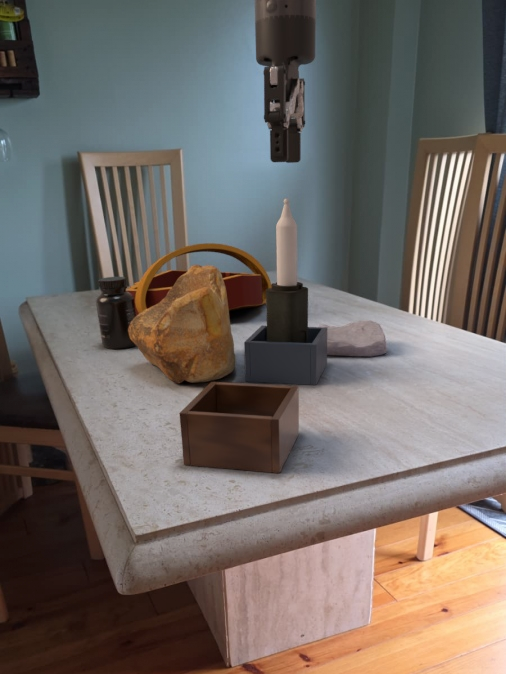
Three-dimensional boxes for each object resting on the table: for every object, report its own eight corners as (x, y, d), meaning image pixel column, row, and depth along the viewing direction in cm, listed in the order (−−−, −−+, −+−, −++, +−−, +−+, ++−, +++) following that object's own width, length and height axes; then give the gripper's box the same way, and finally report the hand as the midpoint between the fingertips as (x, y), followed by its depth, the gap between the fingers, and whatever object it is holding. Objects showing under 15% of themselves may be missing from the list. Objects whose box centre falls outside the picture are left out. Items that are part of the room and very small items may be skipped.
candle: (292, 379, 93) (291, 199, 82) (264, 374, 96) (260, 199, 85) (310, 371, 96) (312, 197, 86) (283, 366, 99) (281, 197, 89)
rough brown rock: (146, 354, 111) (129, 269, 105) (238, 343, 111) (227, 257, 104) (123, 402, 90) (100, 300, 84) (236, 389, 90) (222, 285, 83)
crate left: (298, 434, 74) (298, 386, 71) (279, 473, 64) (278, 419, 62) (213, 428, 76) (211, 381, 74) (183, 465, 67) (179, 413, 64)
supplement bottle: (129, 338, 119) (121, 274, 114) (145, 345, 114) (138, 278, 109) (95, 344, 116) (86, 278, 111) (111, 351, 110) (102, 283, 106)
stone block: (390, 365, 103) (376, 339, 112) (392, 339, 101) (378, 314, 109) (319, 371, 103) (311, 344, 111) (319, 345, 100) (311, 319, 108)
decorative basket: (239, 303, 158) (231, 241, 154) (309, 302, 134) (301, 229, 130) (114, 325, 142) (101, 257, 137) (168, 329, 118) (154, 247, 113)
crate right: (326, 364, 99) (327, 327, 97) (316, 385, 90) (316, 344, 88) (262, 361, 102) (261, 325, 99) (245, 381, 93) (244, 342, 90)
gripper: (304, 2, 70) (304, 161, 77) (324, 27, 82) (322, 161, 89) (240, 9, 72) (245, 163, 78) (269, 32, 84) (271, 163, 91)
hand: (286, 162), depth 84 cm, fingers open, 8 cm apart
